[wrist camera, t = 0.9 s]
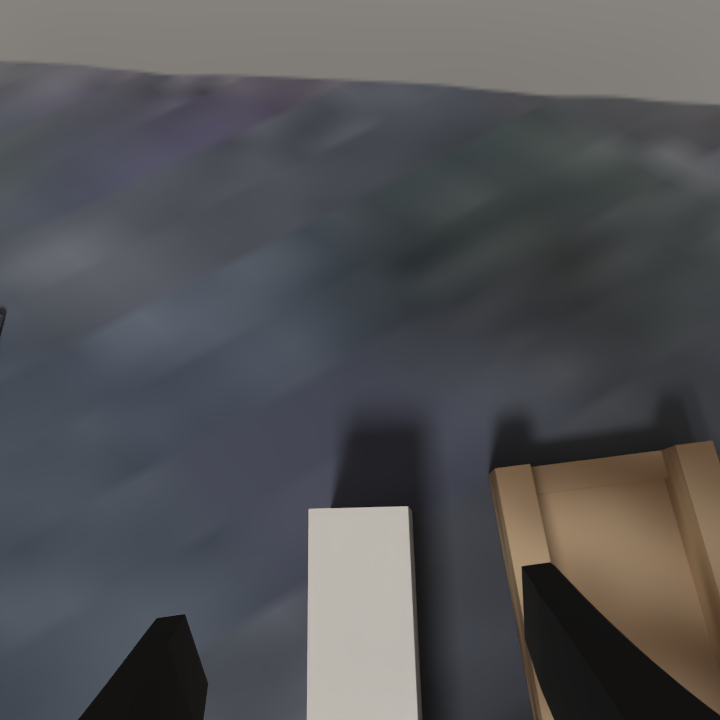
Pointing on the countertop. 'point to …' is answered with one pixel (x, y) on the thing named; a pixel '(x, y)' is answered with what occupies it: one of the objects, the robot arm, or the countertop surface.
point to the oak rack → (625, 551)
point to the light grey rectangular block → (362, 615)
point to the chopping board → (1, 320)
